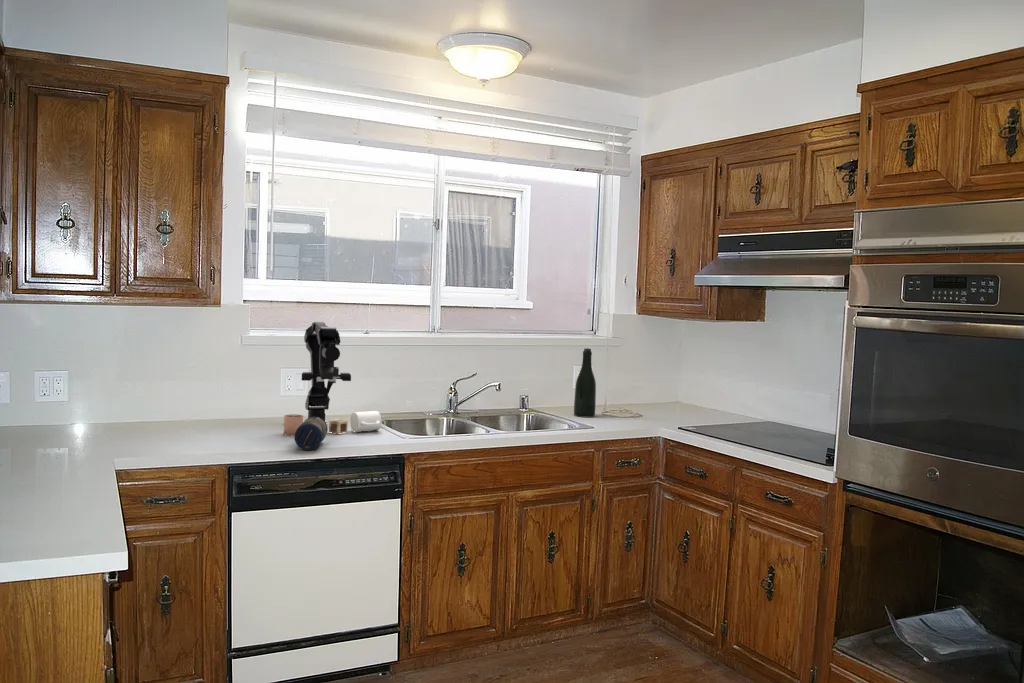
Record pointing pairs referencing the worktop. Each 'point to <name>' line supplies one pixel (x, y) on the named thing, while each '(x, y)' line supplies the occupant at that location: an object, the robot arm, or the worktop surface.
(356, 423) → the mug
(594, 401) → the beer bottle
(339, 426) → the letter cube
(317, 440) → the canister
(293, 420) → the cup
